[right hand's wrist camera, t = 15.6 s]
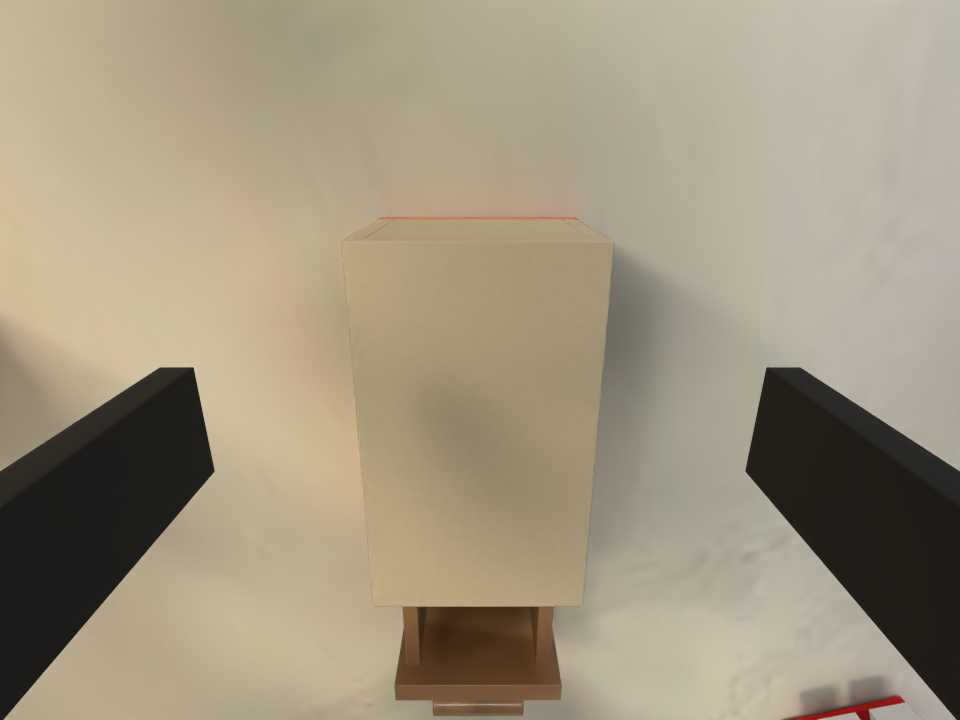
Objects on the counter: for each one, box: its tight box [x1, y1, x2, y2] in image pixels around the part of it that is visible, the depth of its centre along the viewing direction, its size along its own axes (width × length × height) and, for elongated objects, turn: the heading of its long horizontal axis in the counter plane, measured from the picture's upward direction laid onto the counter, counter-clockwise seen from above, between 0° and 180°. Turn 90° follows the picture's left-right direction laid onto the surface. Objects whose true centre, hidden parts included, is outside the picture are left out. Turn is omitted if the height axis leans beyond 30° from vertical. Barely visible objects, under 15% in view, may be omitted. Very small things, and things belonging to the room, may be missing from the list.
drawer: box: [395, 607, 561, 716], centre depth 32 cm, size 23×10×7 cm, turn 0°
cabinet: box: [341, 218, 614, 607], centre depth 28 cm, size 18×11×9 cm, turn 0°
